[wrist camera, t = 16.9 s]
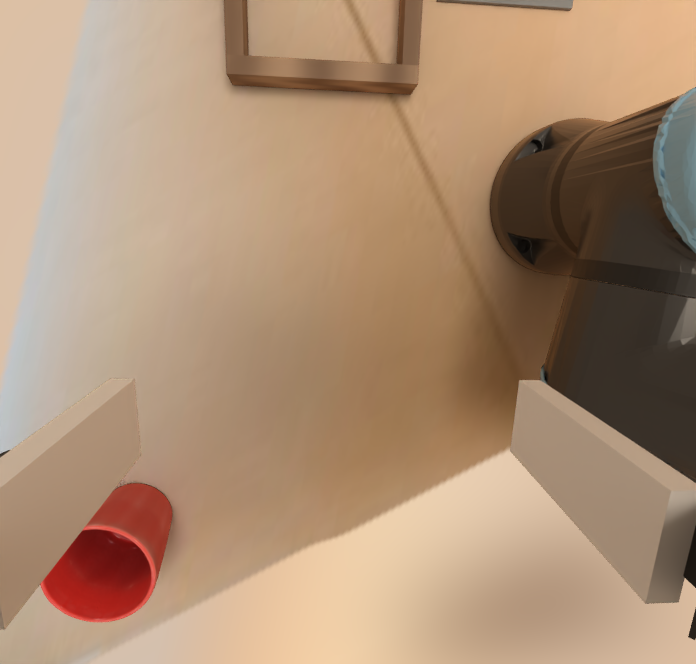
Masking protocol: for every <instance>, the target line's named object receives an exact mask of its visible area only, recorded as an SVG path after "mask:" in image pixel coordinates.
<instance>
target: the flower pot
mask: <svg viewBox="0 0 696 664" xmlns="http://www.w3.org/2000/svg"><path fill="white" fill-rule="evenodd" d="M171 520H172V509H171V506H170V503H169V501H168V500H167V498H166V497H165V496H164V495H163V494H162V493H161V492H160V491H159V490H157V489H156V488H154V487H151V486H149V485H145V484H139V483H133V484H127V485H124V486H121V487H119V488H117V489H115V490H114V491H113V492H112V493H111V494H110V495H109V497H108V498H107V499H106V500H105V502H104V503H103V504H102V506H101V507H100V508H99V509H98V511H97V512H96V513H95V515H94V516H93V517H92V518H91V520H90V521H89V522H88V524H87V525H86V526H85V527H84V529H83V530H82V531H81V533H80V534H79V535H78V536H77V538H76V539H75V540H74V541H73V543H72V544H71V545H70V547H69V548H68V549H67V550H66V552H65V553H64V554H63V556H62V557H61V558H60V559H59V561H58V562H57V563H56V565H55V566H54V567H53V568H52V570H51V571H50V572H49V574H48V575H47V576H46V577H45V579H44V580H43V581H42V582H41V584H40V585H41V588H42V590H43V592H44V594H45V596H46V597H47V599H48V600H49V601H50V603H52V604H53V605H54V606H55V607H56V608H57V609H59V610H60V611H62V612H63V613H65V614H67V615H69V616H71V617H73V618H76V619H80V620H84V621H89V622H109V621H115V620H119V619H122V618H125V617H127V616H129V615H131V614H133V613H135V612H136V611H137V610H139V609H140V608H141V607H142V606H143V605H144V604H145V603H146V602H147V600H148V599H149V598H150V596H151V594H152V592H153V590H154V588H155V585H156V581H157V578H158V574H159V571H160V567H161V563H162V560H163V556H164V552H165V548H166V544H167V539H168V535H169V530H170V525H171Z"/></svg>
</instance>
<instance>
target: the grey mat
mask: <svg viewBox="0 0 696 664" xmlns="http://www.w3.org/2000/svg"><path fill="white" fill-rule="evenodd" d="M437 1H441V2H455V3H469V4H484V5H498V6H513V7H527V8H541V9H556V10H571V9H572V5H573V0H437Z"/></svg>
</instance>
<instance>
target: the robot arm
mask: <svg viewBox="0 0 696 664" xmlns="http://www.w3.org/2000/svg"><path fill="white" fill-rule="evenodd" d="M491 219H492V224H493V228H494V231H495V234H496V236H497V238H498V240H499V242H500V244H501V246H502V247H503V249H504V250H505V251H506V252H507V254H508V255H509V256H510V257H511V258H513V259H514V260H515V261H516V262H518V263H519V264H521V265H522V266H524V267H526V268H528V269H531V270H534V271H537V272H542V273H548V274H554V275H568V274H571V276H572V277H570V278H569V282H568V285H567V289H566V293H565V296H564V300H563V303H562V307H561V310H560V314H559V317H558V320H557V324H556V327H555V331H554V334H553V338H552V341H551V344H550V348H549V351H548V355H547V358H546V361H545V364H544V365H543V366H542V368H541V372H540V379H541V380H519V386H518V394H517V402H516V410H515V418H514V426H513V433H512V441H511V449H510V451H511V452H512V453H513V455H514V456H515V457H516V458H517V459H518V460H519V461H520V463H522V465H523V466H524V467H525V468H526V469H527V470H528V472H529V473H530V474H531V475H532V476H533V477H534V478H535V479H536V480H537V482H538V483H539V484H540V485H541V486H542V487H543V489H544V490H545V491H546V492H547V493H548V494H549V495H550V496H551V498H552V499H553V500H554V501H555V502H556V503H557V504H558V505H559V507H560V508H561V509H562V510H563V511H564V512H565V513H566V514H567V516H568V517H569V518H570V519H571V520H572V521H573V522H574V524H575V525H576V526H577V527H578V528H579V529H580V530H581V531H582V533H583V534H584V535H585V536H586V537H587V538H588V539H589V540H590V542H591V543H592V544H593V545H594V546H595V547H596V548H597V549H598V551H599V552H600V553H601V554H602V555H603V556H604V557H605V558H606V560H607V561H608V562H609V563H610V564H611V565H612V566H613V567H614V569H615V570H616V571H617V572H618V573H619V574H620V575H621V577H622V578H623V579H624V580H625V581H626V582H627V583H628V584H629V585H630V587H631V588H632V589H633V590H634V591H635V592H636V593H637V594H638V596H639V597H640V598H641V599H642V600H643V601H644V602H645V603H647V604H649V603H671V602H673V603H674V602H679V598H680V594H681V590H682V586H683V582H684V578H686V579H687V580H688V581H689V582H690V583H691V584H692V585H693V586H694V587H695V588H696V87H695V88H693V89H691V90H689V91H688V92H686V93H685V94H683V95H680V96H678V97H675V98H672V99H670V100H667V101H664V102H662V103H659V104H657V105H654V106H651V107H649V108H646V109H644V110H641V111H638V112H636V113H633V114H630V115H628V116H625V117H623V118H620V119H617V120H615V121H612V122H607V121H600V120H594V119H586V118H576V119H568V120H563V121H559V122H556V123H553V124H551V125H548V126H546V127H544V128H542V129H539V130H537V131H535V132H533V133H532V134H530V135H529V136H527V137H526V138H524V139H523V140H522V141H521V142H520V143H518V144H517V145H516V146H515V147H514V149H513V150H512V151H511V152H510V153H509V154H508V156H507V157H506V159H505V160H504V162H503V163H502V165H501V167H500V169H499V171H498V173H497V176H496V178H495V181H494V185H493V189H492V194H491ZM581 278H583V279H581ZM587 279H590V280H587ZM593 280H596V281H593ZM599 281H601V282H599ZM604 282H607V283H604ZM610 283H613V284H610ZM616 284H618V285H616ZM622 285H624V286H622ZM628 286H629V287H628ZM634 287H635V288H634ZM639 288H640V289H639ZM645 289H646V290H645ZM651 290H652V291H651ZM657 291H658V292H657ZM662 292H663V293H662ZM668 293H669V294H668ZM674 294H675V295H674ZM685 296H686V297H685ZM691 297H692V298H691ZM140 456H141V447H140V435H139V424H138V413H137V402H136V390H135V379H109V380H108V381H106V382H105V383H103V384H102V385H101V386H99V387H98V388H97V389H95V390H94V391H92V392H91V393H90V394H88V395H87V396H85V397H84V398H83V399H81V400H80V401H78V402H77V403H76V404H74V405H73V406H71V407H70V408H69V409H67V410H66V411H64V412H63V413H62V414H60V415H59V416H57V417H56V418H55V419H53V420H52V421H51V422H49V423H48V424H46V425H45V426H44V427H42V428H41V429H39V430H38V431H37V432H35V433H34V434H32V435H31V436H30V437H28V438H27V439H25V440H24V441H23V442H21V443H20V444H18V445H17V446H16V447H14V448H13V449H12V450H8V451H6V452H3V453H1V454H0V630H2V629H6V627H7V626H8V625H9V623H10V622H11V621H12V620H13V618H14V617H15V616H16V615H17V613H18V612H19V611H20V609H21V608H22V607H23V606H24V604H25V603H26V602H27V600H28V599H29V598H30V597H31V595H32V594H33V593H34V591H35V590H36V589H37V588H38V586H39V585H40V584H41V582H42V581H43V580H44V579H45V577H46V576H47V575H48V574H49V572H50V571H51V570H52V568H53V567H54V566H55V565H56V563H57V562H58V561H59V559H60V558H61V557H62V556H63V554H64V553H65V552H66V550H67V549H68V548H69V547H70V545H71V544H72V543H73V541H74V540H75V539H76V538H77V536H78V535H79V534H80V533H81V531H82V530H83V529H84V527H85V526H86V525H87V524H88V522H89V521H90V520H91V518H92V517H93V516H94V515H95V513H96V512H97V511H98V509H99V508H100V507H101V506H102V504H103V503H104V502H105V500H106V499H107V498H108V497H109V495H110V494H111V493H112V492H113V490H114V489H115V488H116V486H117V485H118V484H119V483H120V481H121V480H122V479H123V477H124V476H125V475H126V474H127V472H128V471H129V470H130V468H131V467H132V466H133V465H134V463H135V462H136V461H137V460H138V458H139V457H140ZM688 637H690V638H692V639H694V640H695V638H696V609H695V613H694V617H693V621H692V625H691V629H690V632H689V636H688Z"/></svg>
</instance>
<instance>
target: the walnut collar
mask: <svg viewBox="0 0 696 664" xmlns="http://www.w3.org/2000/svg"><path fill="white" fill-rule="evenodd" d="M422 3H423V0H400V6H399V28H398V50H397V64H385V63H367V62H350V61H332V60H315V59H297V58H280V57H262V56H248V17H247V0H224V13H225V40H226V68H227V75H228V77H229V79H230V80H231V82H232V84H233V85H242V86H261V87H280V88H300V89H319V90H338V91H358V92H377V93H396V94H411V93H412V92H413V90H414V89H415V87H416V86H417V85H418V74H419V56H420V38H421V21H422Z"/></svg>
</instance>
